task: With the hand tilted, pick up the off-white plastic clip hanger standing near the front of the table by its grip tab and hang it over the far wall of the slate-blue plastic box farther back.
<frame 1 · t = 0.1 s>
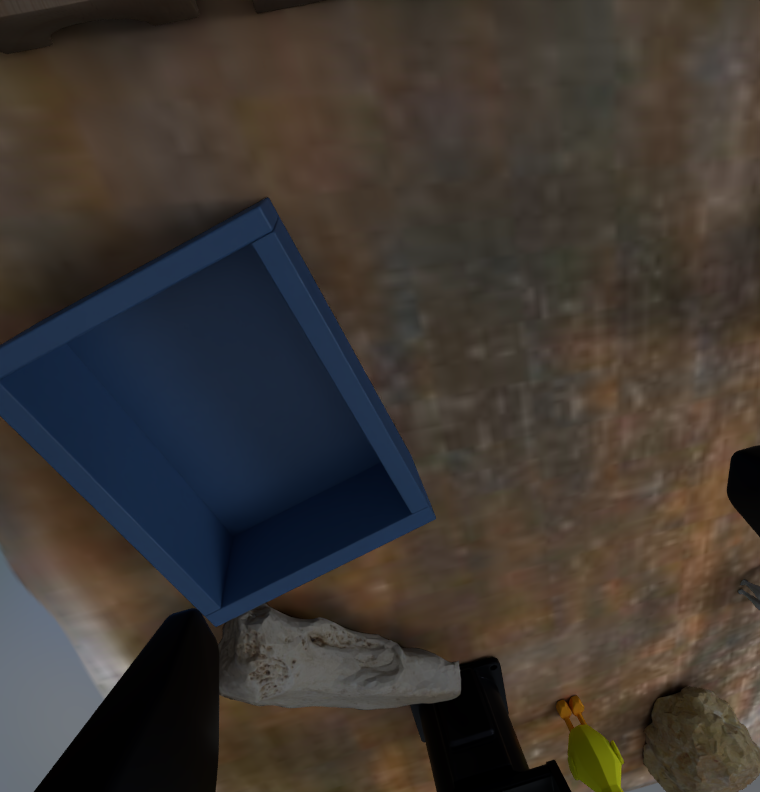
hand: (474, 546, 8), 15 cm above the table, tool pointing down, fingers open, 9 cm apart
blue box: (246, 398, 22), on the table
stone tool: (673, 718, 40), on the table
bone fragment: (336, 623, 29), on the table
stegosaurus: (754, 571, 33), on the table
toy figure: (567, 701, 36), on the table
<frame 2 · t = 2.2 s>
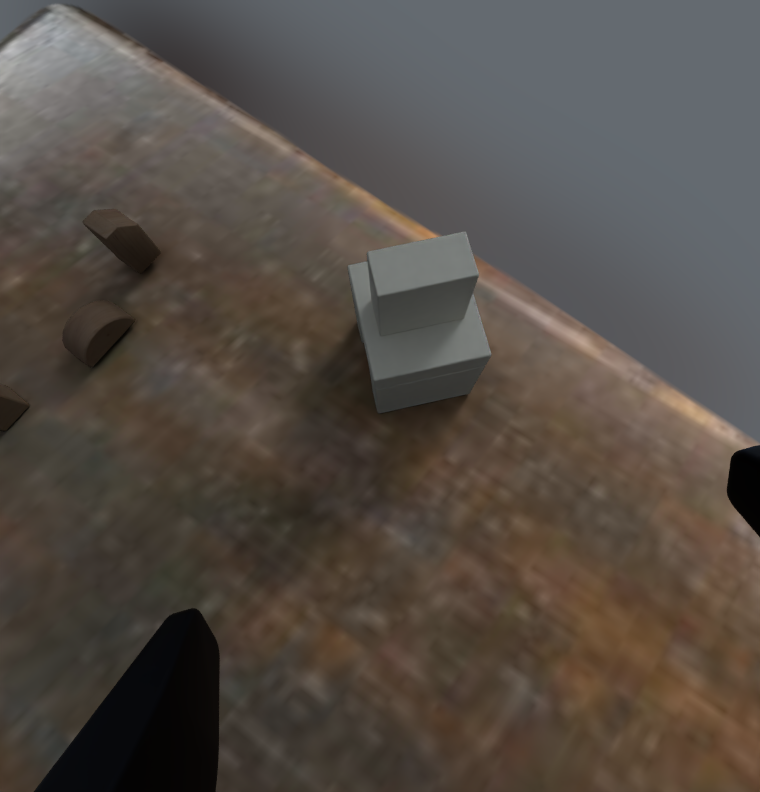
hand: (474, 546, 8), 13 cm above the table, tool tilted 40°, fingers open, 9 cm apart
clip hanger: (412, 356, 23), on the table
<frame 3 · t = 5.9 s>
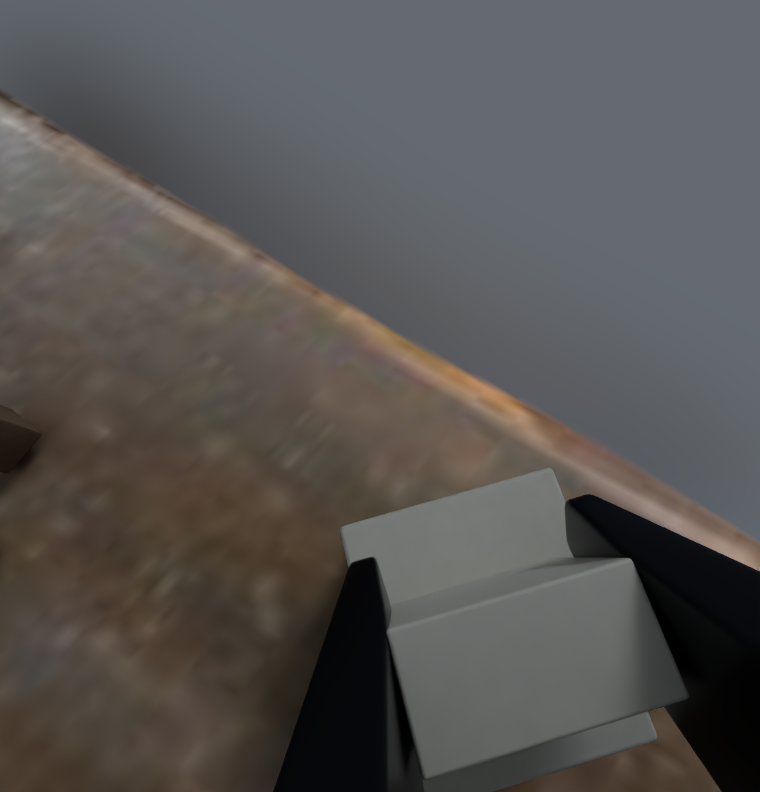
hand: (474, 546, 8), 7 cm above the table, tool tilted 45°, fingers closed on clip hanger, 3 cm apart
clip hanger: (456, 600, 14), on the table, touching gripper
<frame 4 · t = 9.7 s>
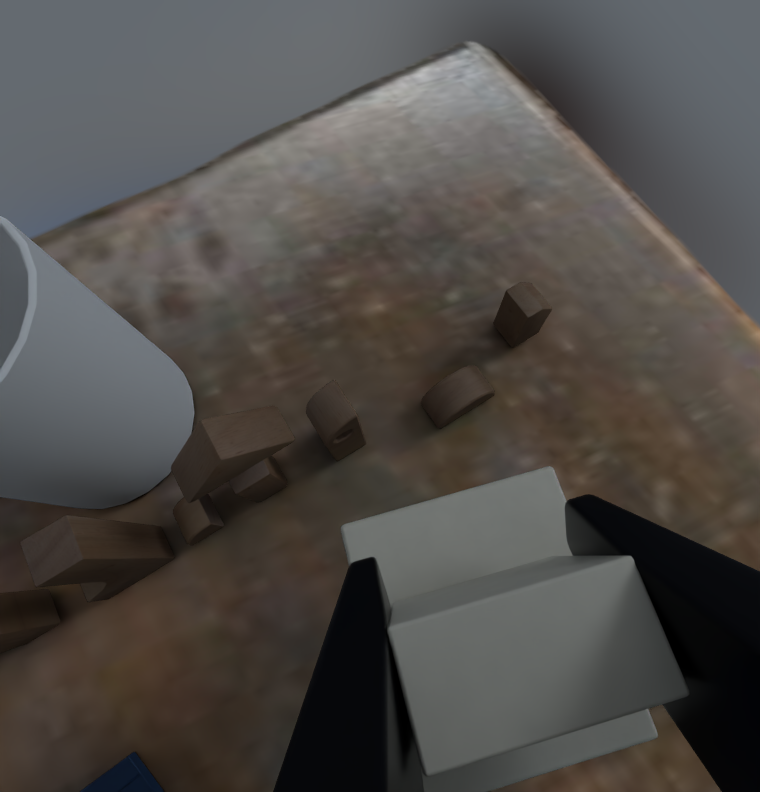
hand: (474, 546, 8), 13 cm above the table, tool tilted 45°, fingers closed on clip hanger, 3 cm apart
clip hanger: (456, 599, 14), point 6 cm above the table, touching gripper
mug: (75, 451, 22), on the table
wooden blocks: (259, 504, 21), on the table
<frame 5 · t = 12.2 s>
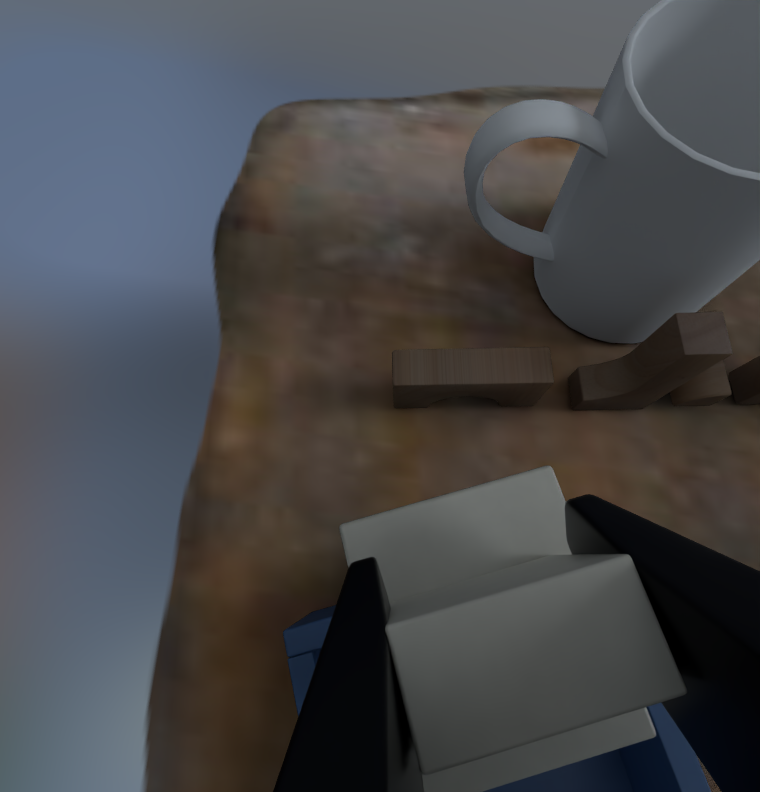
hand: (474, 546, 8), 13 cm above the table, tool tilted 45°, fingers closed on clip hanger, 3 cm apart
blue box: (491, 766, 18), on the table
clip hanger: (455, 598, 14), point 6 cm above the table, touching gripper
mug: (567, 279, 24), on the table
wooden blocks: (727, 406, 22), on the table
when the fingers open (8 cm above the table, at t = 13.9 s): clip hanger stays where it is, resting on blue box.
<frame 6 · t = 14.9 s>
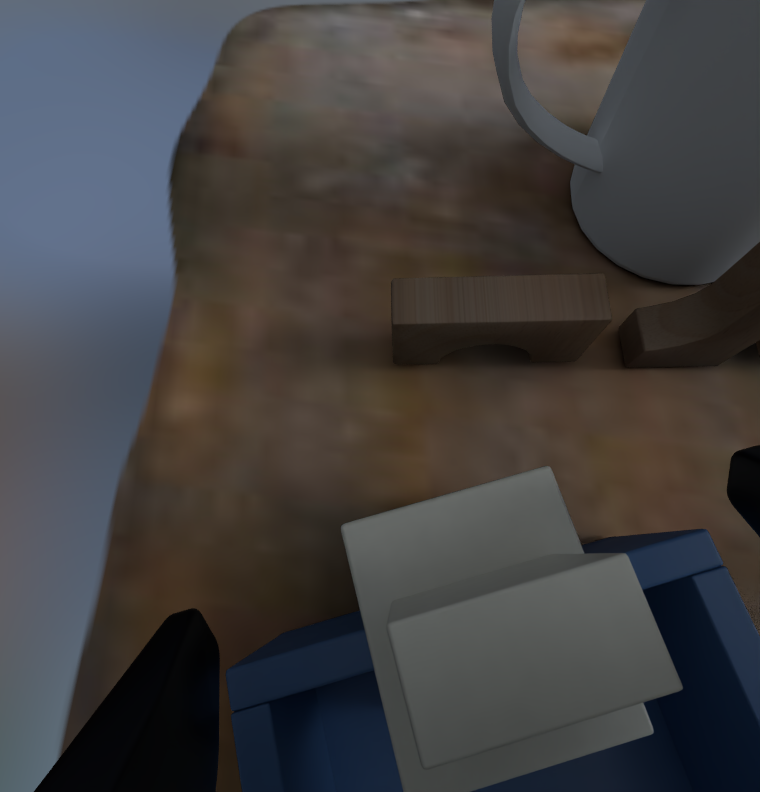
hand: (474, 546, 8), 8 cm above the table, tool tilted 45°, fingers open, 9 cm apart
clip hanger: (455, 598, 14), point 1 cm above the table, touching blue box
mug: (612, 209, 19), on the table
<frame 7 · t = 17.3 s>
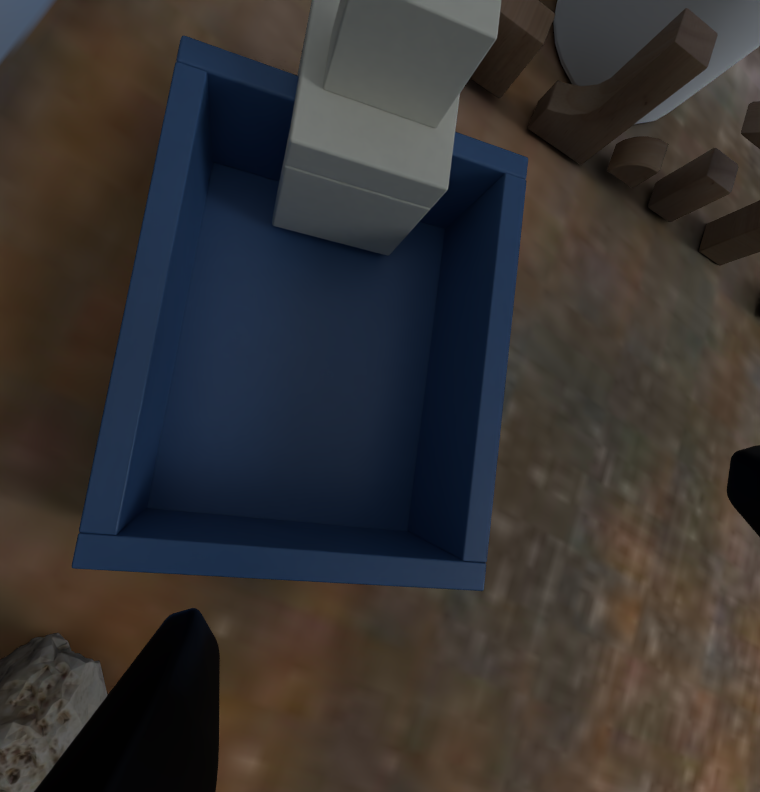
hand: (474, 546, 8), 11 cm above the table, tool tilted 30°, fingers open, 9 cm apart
blue box: (310, 355, 18), on the table
clip hanger: (341, 180, 18), point 1 cm above the table, touching blue box
mug: (580, 29, 23), on the table
wooden blocks: (638, 210, 24), on the table
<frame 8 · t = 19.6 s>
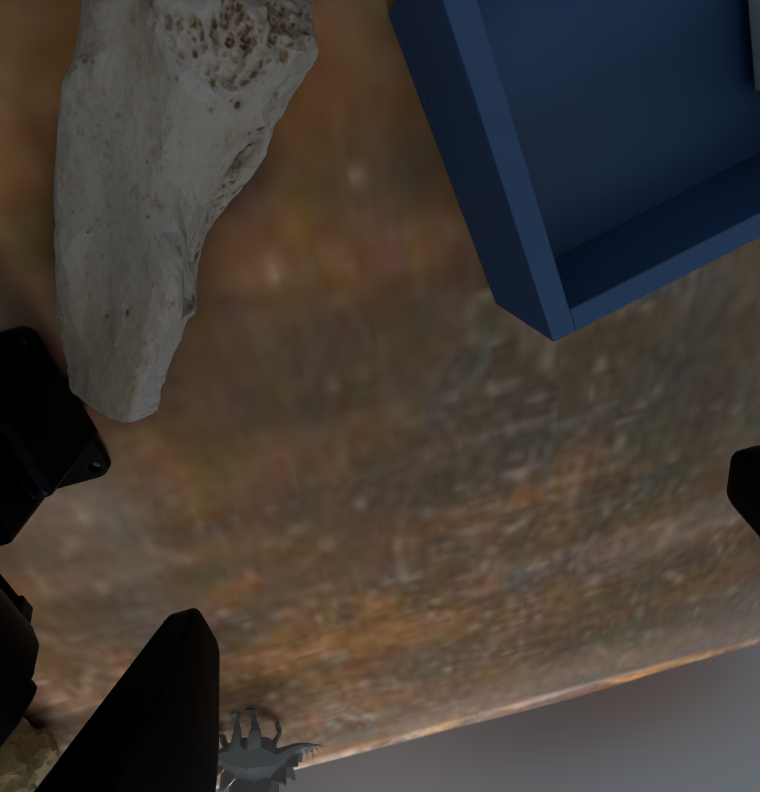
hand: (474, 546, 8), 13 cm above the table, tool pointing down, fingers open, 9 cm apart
blue box: (619, 86, 17), on the table
bone fragment: (187, 195, 17), on the table
stegosaurus: (262, 714, 29), on the table
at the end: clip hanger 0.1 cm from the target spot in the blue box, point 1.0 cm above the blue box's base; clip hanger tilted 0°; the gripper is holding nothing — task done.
